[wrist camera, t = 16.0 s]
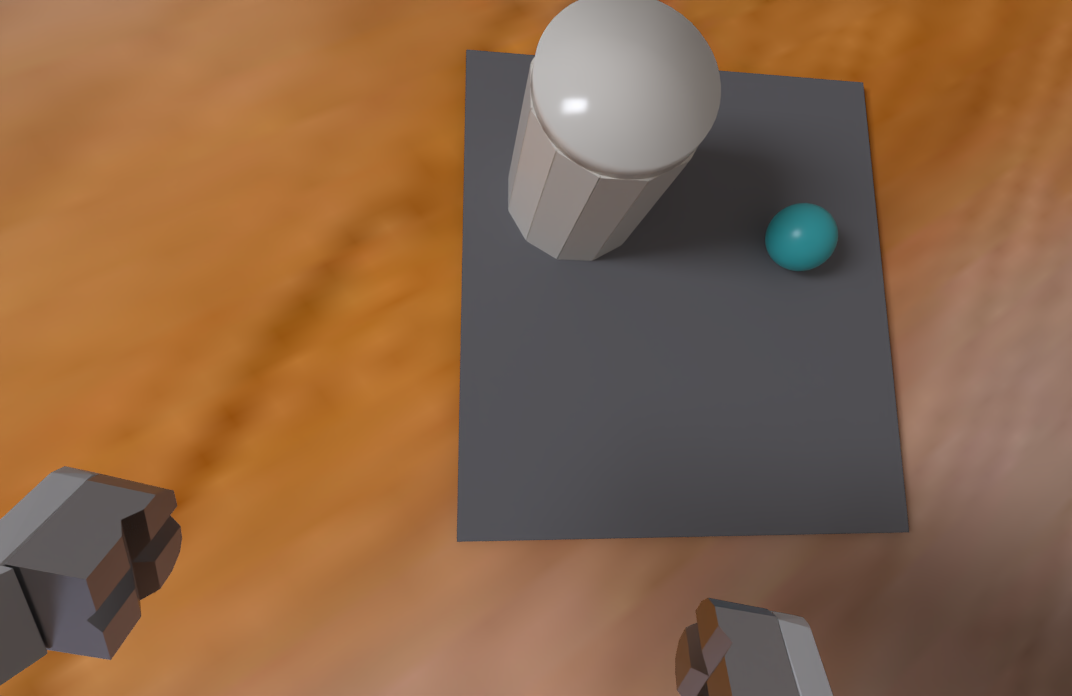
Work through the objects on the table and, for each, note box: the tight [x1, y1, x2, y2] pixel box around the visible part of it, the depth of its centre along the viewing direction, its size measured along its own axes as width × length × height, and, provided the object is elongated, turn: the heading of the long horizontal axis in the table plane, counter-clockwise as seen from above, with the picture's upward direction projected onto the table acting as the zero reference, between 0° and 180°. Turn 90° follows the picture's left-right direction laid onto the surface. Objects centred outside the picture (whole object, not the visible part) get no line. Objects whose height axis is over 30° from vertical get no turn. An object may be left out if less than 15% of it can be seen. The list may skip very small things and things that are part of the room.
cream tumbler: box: [508, 0, 721, 261], centre depth 23 cm, size 6×6×9 cm
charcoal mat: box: [457, 50, 909, 542], centre depth 28 cm, size 22×20×1 cm
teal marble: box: [765, 203, 838, 271], centre depth 27 cm, size 3×3×3 cm
